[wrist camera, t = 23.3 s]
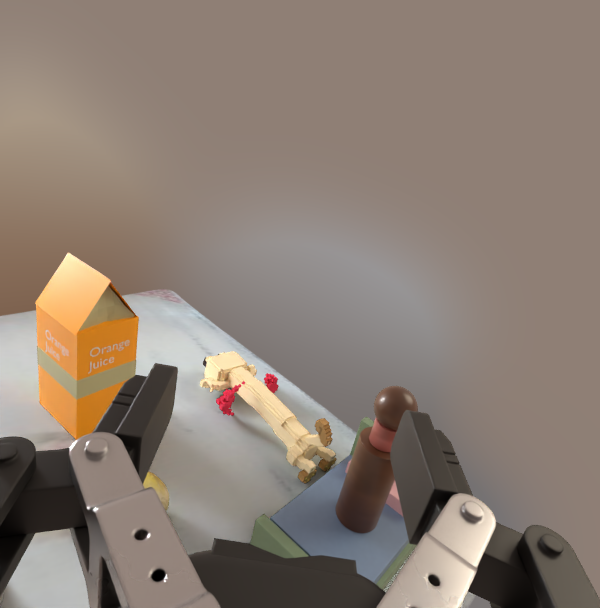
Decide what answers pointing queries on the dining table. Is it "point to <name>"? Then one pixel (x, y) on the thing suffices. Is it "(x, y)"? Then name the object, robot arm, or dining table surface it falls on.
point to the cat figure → (269, 411)
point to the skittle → (373, 463)
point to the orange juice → (83, 345)
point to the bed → (337, 528)
